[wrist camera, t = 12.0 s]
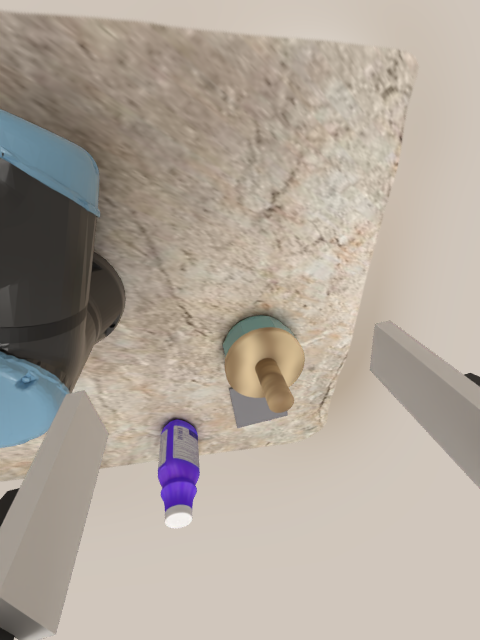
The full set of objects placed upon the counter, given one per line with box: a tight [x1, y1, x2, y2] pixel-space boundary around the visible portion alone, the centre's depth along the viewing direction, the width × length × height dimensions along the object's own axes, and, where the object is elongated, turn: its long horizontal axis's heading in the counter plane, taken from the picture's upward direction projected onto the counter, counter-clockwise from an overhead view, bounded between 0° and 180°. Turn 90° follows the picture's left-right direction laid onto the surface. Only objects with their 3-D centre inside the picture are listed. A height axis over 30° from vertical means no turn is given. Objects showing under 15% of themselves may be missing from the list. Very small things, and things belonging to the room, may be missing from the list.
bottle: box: [158, 419, 200, 528], centre depth 50 cm, size 7×6×17 cm
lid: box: [225, 327, 305, 413], centre depth 43 cm, size 13×13×10 cm
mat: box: [229, 388, 287, 428], centre depth 58 cm, size 11×11×1 cm
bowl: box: [223, 315, 295, 358], centre depth 49 cm, size 12×12×5 cm
